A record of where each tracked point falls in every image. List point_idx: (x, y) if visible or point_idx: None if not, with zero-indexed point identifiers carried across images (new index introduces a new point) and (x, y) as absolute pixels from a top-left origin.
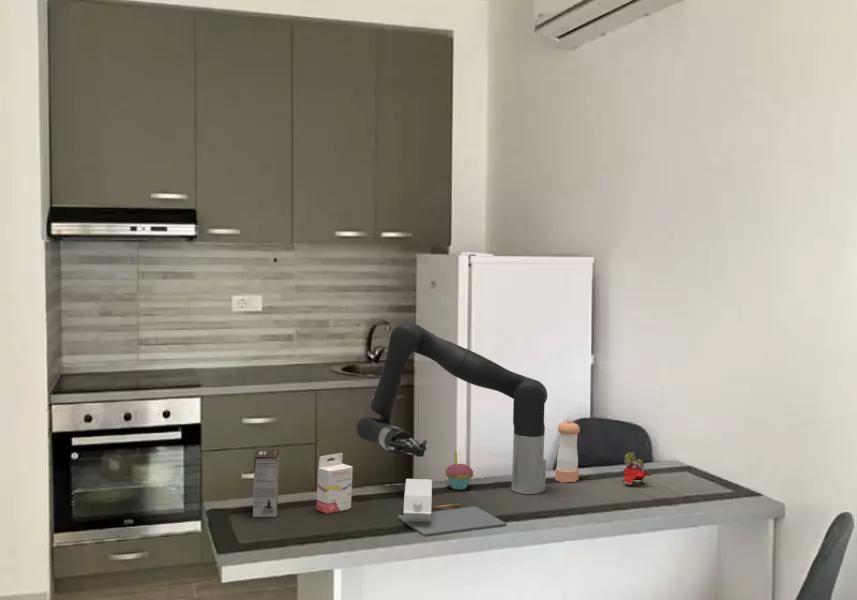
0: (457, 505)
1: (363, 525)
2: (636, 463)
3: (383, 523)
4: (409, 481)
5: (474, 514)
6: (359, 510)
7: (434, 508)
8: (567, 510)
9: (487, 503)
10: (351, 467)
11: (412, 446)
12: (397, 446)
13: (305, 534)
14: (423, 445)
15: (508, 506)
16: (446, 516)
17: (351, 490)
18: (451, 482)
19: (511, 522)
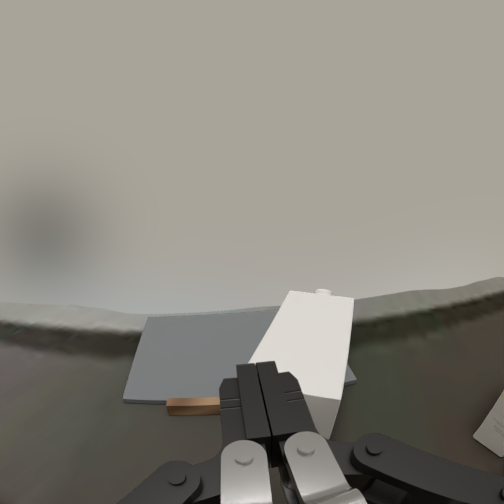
0: (174, 399)
1: (421, 349)
2: None
3: (385, 357)
4: (332, 371)
5: (167, 360)
6: (450, 427)
7: None
8: (10, 336)
9: (68, 420)
10: None
11: (304, 433)
12: (439, 466)
13: (485, 320)
14: (167, 466)
15: (52, 386)
16: (237, 363)
17: (496, 402)
18: None
19: (127, 328)
